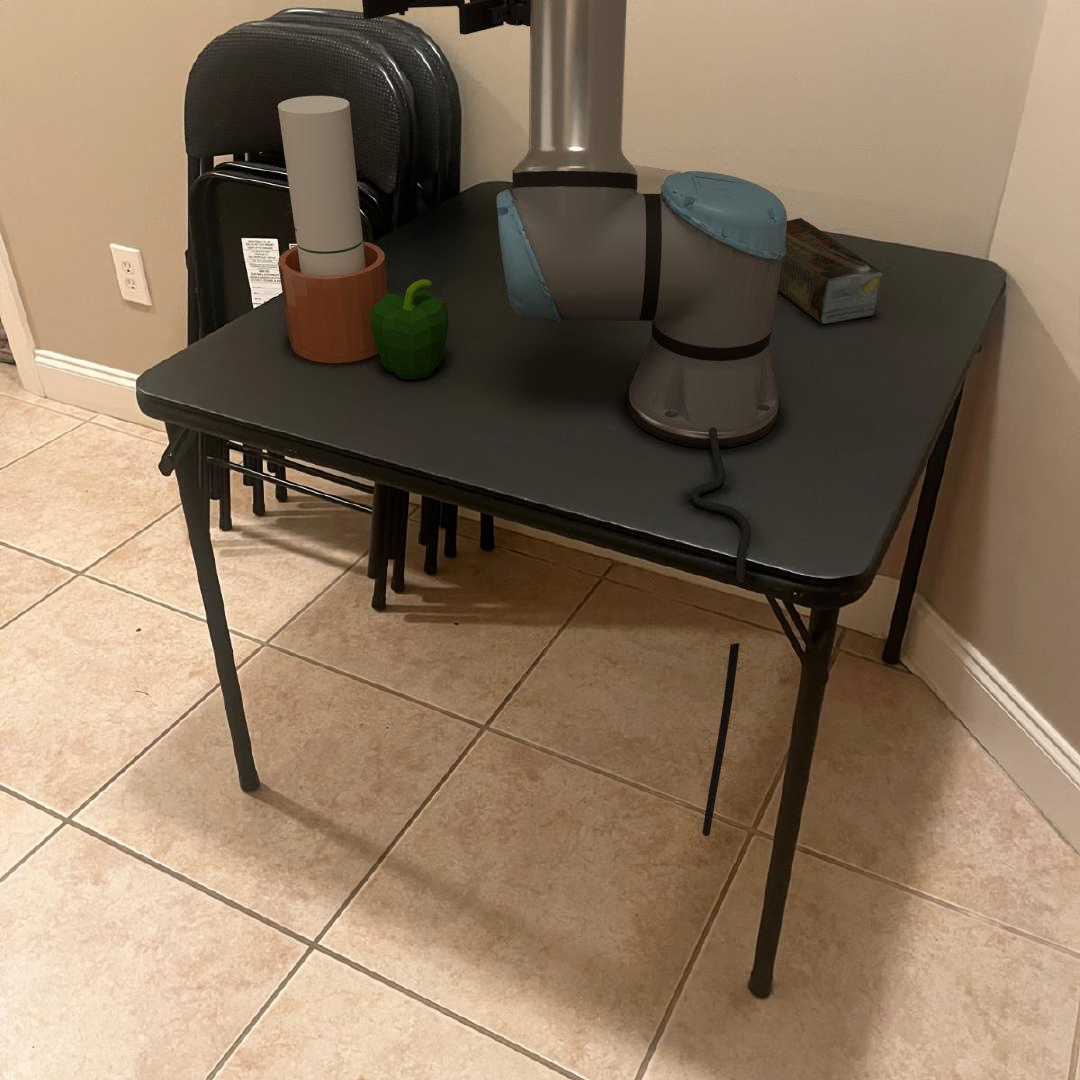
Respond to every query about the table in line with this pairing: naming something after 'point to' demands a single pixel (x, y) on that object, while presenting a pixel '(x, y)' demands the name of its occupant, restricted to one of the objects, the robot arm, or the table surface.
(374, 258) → the crock
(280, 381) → the table surface
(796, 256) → the beverage carton
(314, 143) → the cylindrical container
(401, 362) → the bell pepper
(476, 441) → the table surface
